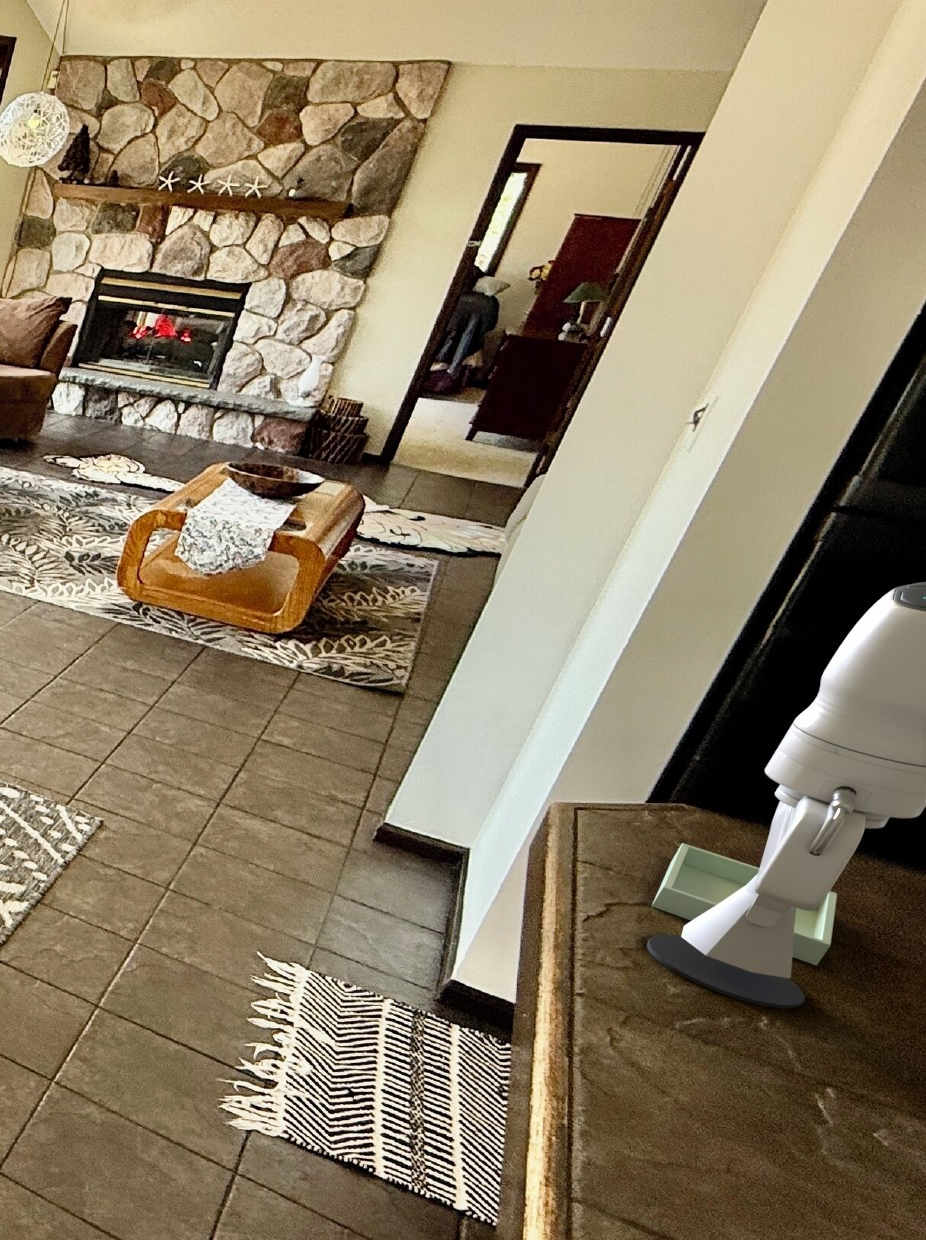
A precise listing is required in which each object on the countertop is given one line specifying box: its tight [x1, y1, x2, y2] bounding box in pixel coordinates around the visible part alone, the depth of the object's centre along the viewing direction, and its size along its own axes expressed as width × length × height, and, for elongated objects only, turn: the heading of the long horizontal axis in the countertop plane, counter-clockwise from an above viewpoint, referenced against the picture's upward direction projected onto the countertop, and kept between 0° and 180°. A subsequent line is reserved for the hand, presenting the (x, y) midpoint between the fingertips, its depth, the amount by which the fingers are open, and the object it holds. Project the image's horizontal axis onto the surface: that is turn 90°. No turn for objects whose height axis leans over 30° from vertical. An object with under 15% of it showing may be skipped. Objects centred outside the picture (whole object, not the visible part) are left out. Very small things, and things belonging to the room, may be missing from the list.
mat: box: [646, 934, 806, 1010], centre depth 102 cm, size 10×10×1 cm
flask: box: [680, 874, 796, 979], centre depth 99 cm, size 7×7×10 cm
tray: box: [651, 843, 838, 966], centre depth 112 cm, size 15×11×2 cm
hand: (760, 914), depth 99 cm, fingers closed on flask, 3 cm apart
